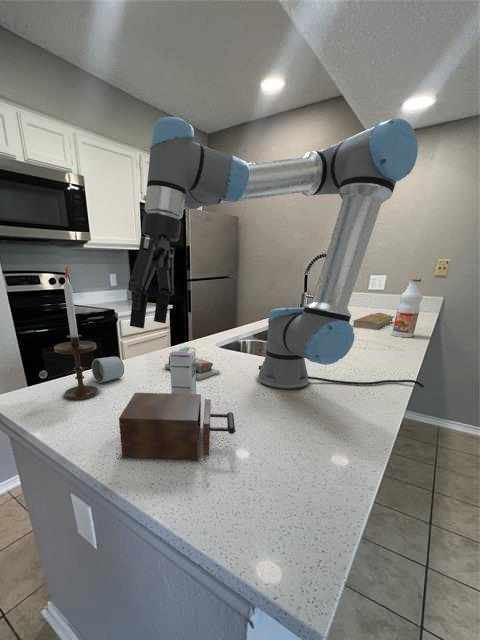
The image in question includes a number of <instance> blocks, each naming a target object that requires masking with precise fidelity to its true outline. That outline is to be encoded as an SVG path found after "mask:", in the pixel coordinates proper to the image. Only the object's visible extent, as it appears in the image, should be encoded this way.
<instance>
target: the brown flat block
mask: <svg viewBox="0 0 480 640" xmlns="http://www.w3.org/2000/svg"><path fill="white" fill-rule="evenodd" d="M393 319H395V316H394V315H391V314H388V313H383V312H376V313H370V314H368V315H364V316H362V317H359V318H356V319H353V320H352V322H353V323H352V327H353V328H359V329H368V330H376V331H377V330H379V329H381V328H383V327H385V326H387V325H389V324H391V323H393ZM390 321H391V322H390Z"/></svg>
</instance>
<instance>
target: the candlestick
mask: <svg viewBox="0 0 480 640" xmlns="http://www.w3.org/2000/svg"><path fill="white" fill-rule="evenodd" d="M68 267H69V266H68V265H66V267H65V269H64V270H65V272H64V278H65V281H64V283H63V291H64V298H65V305H66V312H67V319H68V327H69V335H65V336H66V338H70V341H65V342H61V343H57V344H55V345H54V346H53V347H54V348H53V349H54V352H55V353H56V354H60V355H71V356H74V362H75V367H74V368H73V372H74V373H75V374H76V376H75V377H74V379H75V380H77V386H74V387H70V388H68V389H67V390H66V391H64V395H65V399H67V400H71V401H85V400H88V399H92V398H94V397H96V396H97V395H98V394H99V389H98V387H97V386H94V385H87V384H86V385H85V384H84V380H83V379H85V375H83V373H84V371H85V368H84V366H82V365H81V356H80V355H82V354H85V353H89V352H93V351H95V350H96V349H97V343H96V342H95V341H90V340H80V339H79V338H80V337H82V336H83V334H78V333H79V332H78V327H77V318H76V310H75V304H74V295H73V288H72V287H73V286H72V283H70V281H69V278H68V276H69V269H68Z"/></svg>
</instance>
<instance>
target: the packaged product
mask: <svg viewBox="0 0 480 640" xmlns="http://www.w3.org/2000/svg"><path fill="white" fill-rule="evenodd" d="M213 366H214V363H213V362H212V361H209V360H206V359H202V358H199V357H196V380H198V381H199V380H203V379H205V378H207V377H210V376H214V375H217V374H219V373H220V369H216V368H213ZM164 368H165V369H167V370H170V355H169V356H168V363H165V364H164Z"/></svg>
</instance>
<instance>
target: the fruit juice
mask: <svg viewBox="0 0 480 640" xmlns="http://www.w3.org/2000/svg"><path fill="white" fill-rule="evenodd" d="M421 282H422V279H421V278H409V279H408V286H407V288H406V289H405V291H403V293H401V295H400V297H399V304H398V306H397V309H396V314H395V317H394V322H393V326H392V333H391V335H392V336H393V337H394V336H395V337H398V338H413V337H414V334H415V330H416V327H417V321H418V318H419V315H420V311H421V310H420V309H421V306H420V304H421V302H422V300H423V294H422V292H421V289H420V284H421Z"/></svg>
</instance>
